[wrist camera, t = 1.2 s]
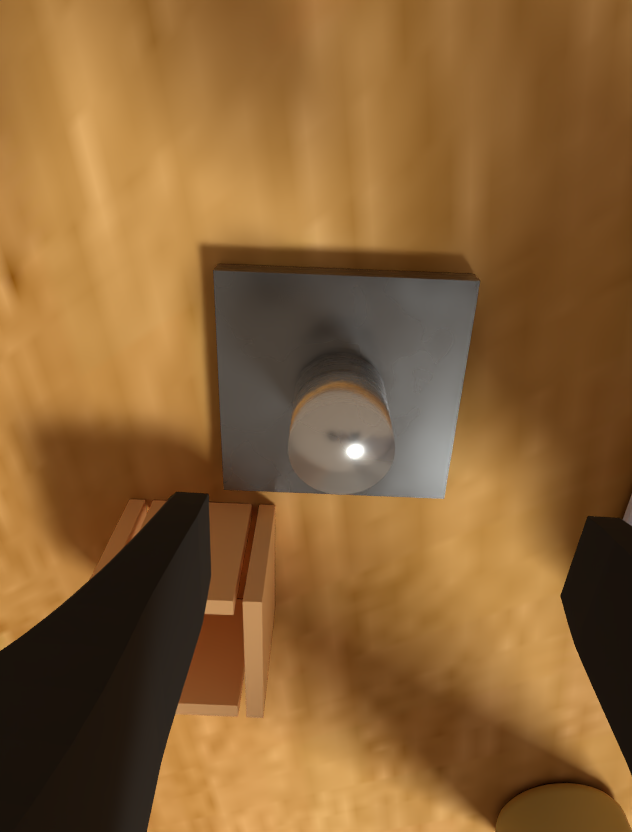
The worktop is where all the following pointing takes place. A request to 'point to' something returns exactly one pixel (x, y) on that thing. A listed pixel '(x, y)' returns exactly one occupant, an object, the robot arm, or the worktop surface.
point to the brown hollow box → (224, 608)
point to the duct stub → (340, 377)
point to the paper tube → (562, 811)
